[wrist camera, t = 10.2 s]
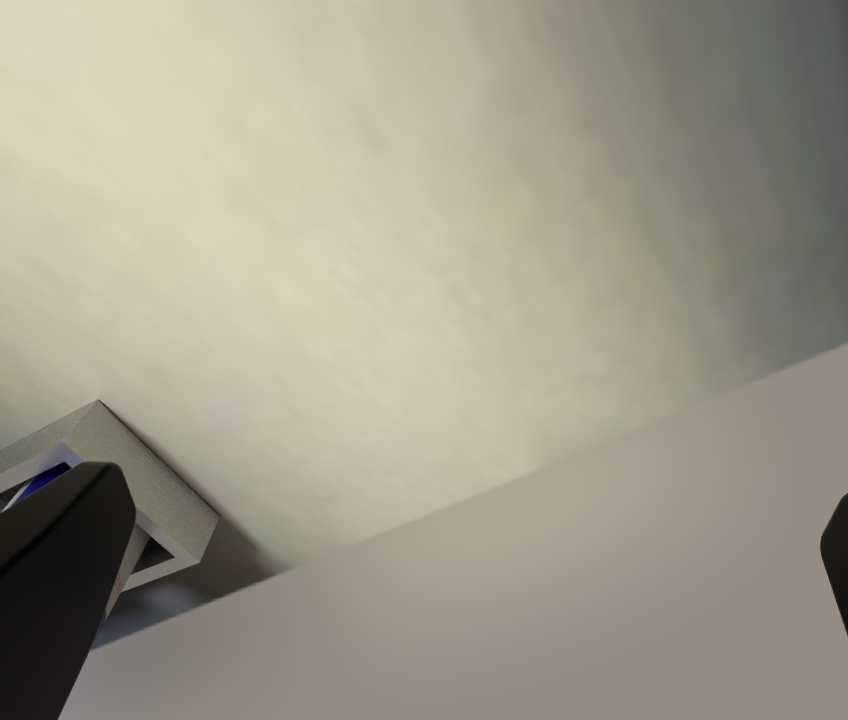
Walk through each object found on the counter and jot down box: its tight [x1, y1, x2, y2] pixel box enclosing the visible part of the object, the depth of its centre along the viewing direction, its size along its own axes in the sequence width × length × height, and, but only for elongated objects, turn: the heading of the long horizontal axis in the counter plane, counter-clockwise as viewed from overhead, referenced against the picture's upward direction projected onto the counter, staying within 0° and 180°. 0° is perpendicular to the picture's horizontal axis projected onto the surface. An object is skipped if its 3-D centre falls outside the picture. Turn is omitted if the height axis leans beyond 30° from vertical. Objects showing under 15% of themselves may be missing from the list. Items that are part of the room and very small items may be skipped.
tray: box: [0, 400, 220, 592], centre depth 27 cm, size 14×7×2 cm, turn 120°
